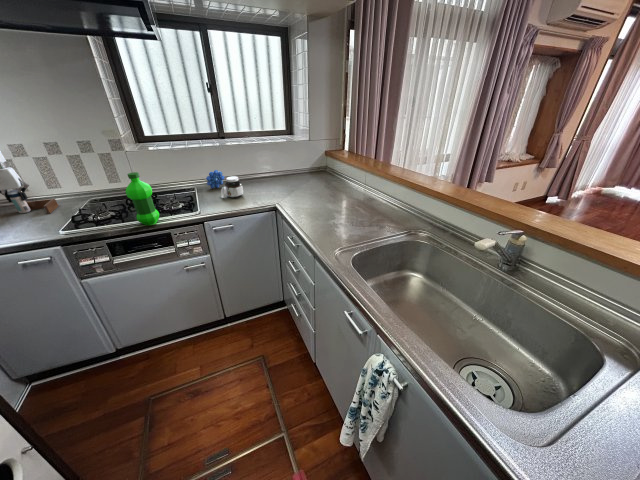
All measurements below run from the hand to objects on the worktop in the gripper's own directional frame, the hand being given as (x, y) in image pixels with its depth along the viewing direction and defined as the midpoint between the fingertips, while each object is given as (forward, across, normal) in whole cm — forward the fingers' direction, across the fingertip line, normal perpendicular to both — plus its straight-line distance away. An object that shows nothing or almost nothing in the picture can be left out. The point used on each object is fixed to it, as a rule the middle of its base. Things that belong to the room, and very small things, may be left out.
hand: (18, 200), depth 141 cm
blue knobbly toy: (+7, +99, +1) cm, 99 cm away
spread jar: (+7, +106, -21) cm, 108 cm away
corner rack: (+7, +6, -2) cm, 9 cm away
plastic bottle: (+7, +64, -42) cm, 77 cm away
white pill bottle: (+7, 0, 0) cm, 7 cm away
